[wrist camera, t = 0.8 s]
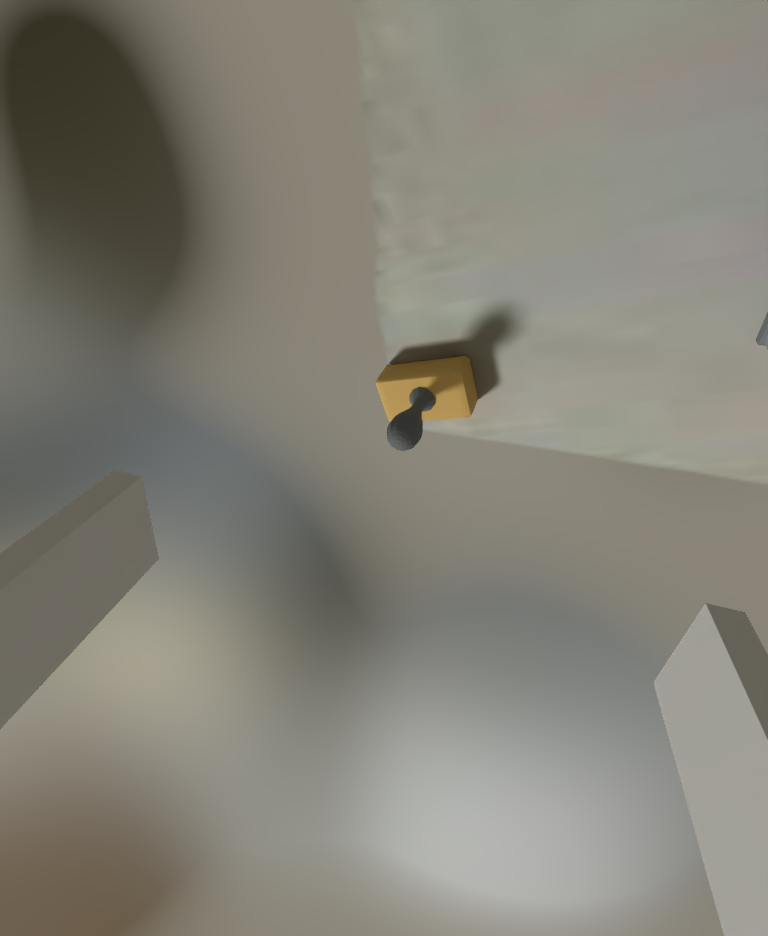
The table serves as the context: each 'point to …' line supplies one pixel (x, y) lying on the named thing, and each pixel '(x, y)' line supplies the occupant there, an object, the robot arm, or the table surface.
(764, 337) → the pedestal
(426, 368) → the rubber stamp
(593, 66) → the table surface
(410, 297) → the table surface
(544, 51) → the table surface
